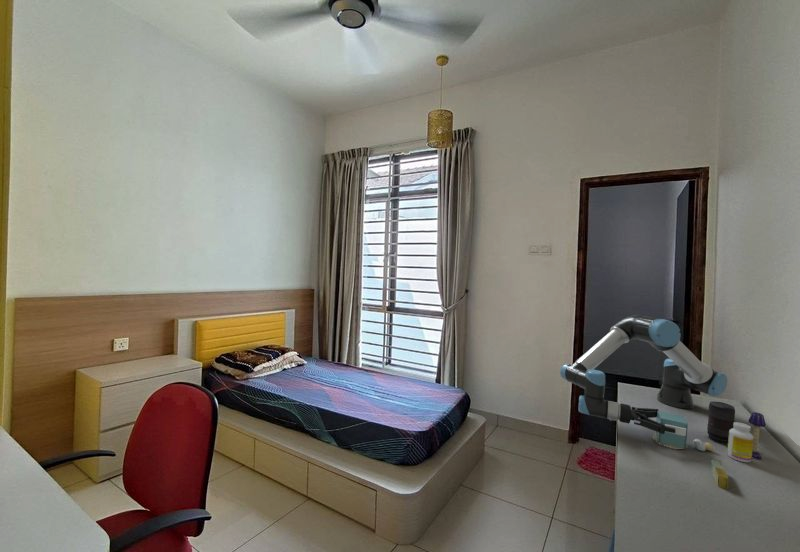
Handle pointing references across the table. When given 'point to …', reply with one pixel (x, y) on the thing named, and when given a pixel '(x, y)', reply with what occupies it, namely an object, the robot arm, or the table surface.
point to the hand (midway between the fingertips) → (681, 425)
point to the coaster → (667, 445)
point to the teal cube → (670, 437)
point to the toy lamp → (756, 432)
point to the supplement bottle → (740, 442)
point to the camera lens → (720, 421)
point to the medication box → (719, 474)
